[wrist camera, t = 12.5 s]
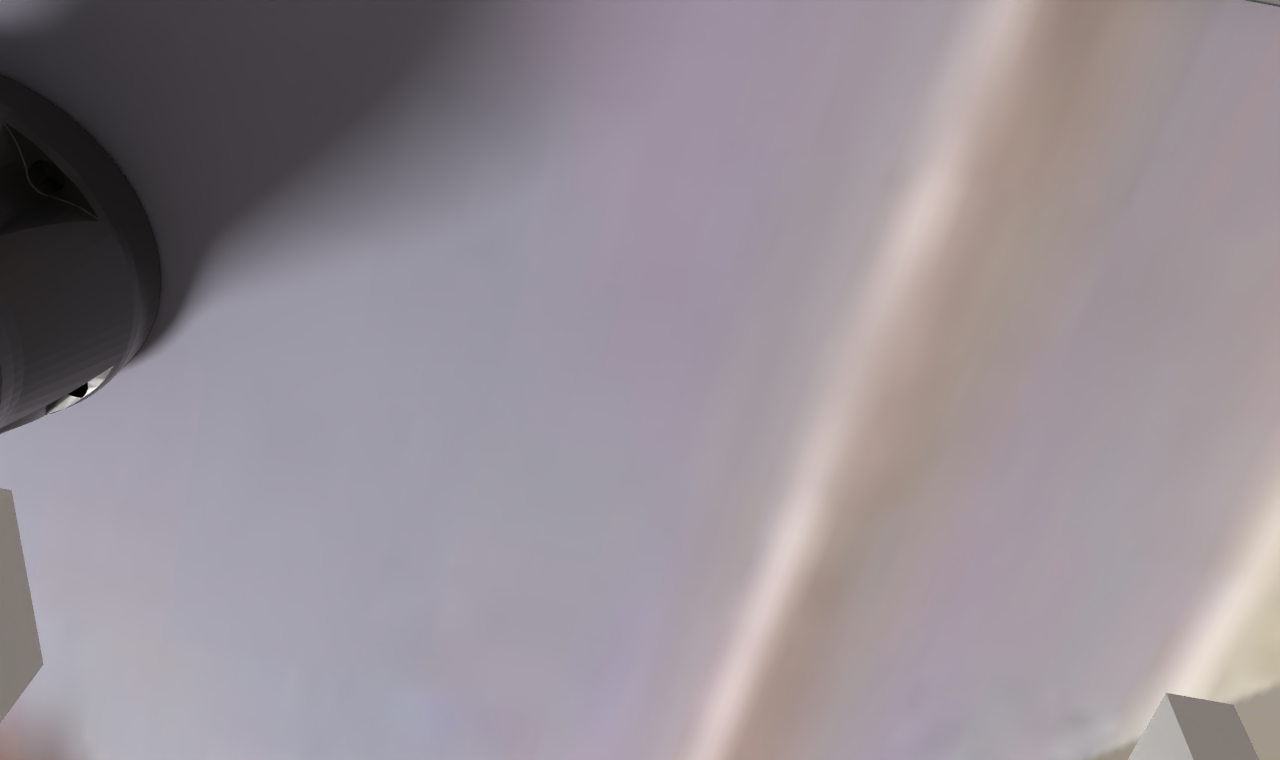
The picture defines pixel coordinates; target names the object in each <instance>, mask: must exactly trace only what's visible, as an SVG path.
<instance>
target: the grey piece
mask: <svg viewBox="0 0 1280 760" xmlns="http://www.w3.org/2000/svg"><path fill="white" fill-rule="evenodd" d="M1247 1H1252V2H1257V3H1262V4H1267V5H1273V6H1278V7H1280V0H1247Z"/></svg>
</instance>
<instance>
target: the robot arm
mask: <svg viewBox="0 0 1280 760" xmlns="http://www.w3.org/2000/svg"><path fill="white" fill-rule="evenodd" d="M160 285H161V283H160V266H159V259H158V253H157V248H156V244H155V241H154V237H153V234H152V231H151V228H150V225H149V222H148V220H147V217H146V215H145V213H144V210H143V208H142V206H141V204H140V202H139V200H138V198H137V196H136V195H135V193H134V191H133V189H132V188H131V186H130V184H129V183H128V181H127V180H126V178H125V177H124V175H123V174H122V172H121V171H120V169H119V168H118V167H117V165H116V164H115V163H114V161H113V160H112V159H111V158H110V157H109V155H108V154H107V153H106V152H105V151H104V149H103V148H102V147H101V146H100V145H99V144H98V143H97V142H96V141H95V140H94V139H93V138H92V137H91V136H90V135H89V134H88V133H87V132H86V131H85V130H84V129H83V128H82V127H81V126H80V125H79V124H78V123H76V122H75V121H74V120H73V119H72V118H71V117H69V116H68V115H67V114H66V113H64V112H63V111H62V110H60V109H59V108H58V107H56V106H55V105H54V104H52V103H51V102H49V101H48V100H46V99H45V98H43V97H42V96H40V95H39V94H37V93H35V92H33V91H32V90H30V89H28V88H27V87H25V86H23V85H21V84H19V83H17V82H15V81H13V80H11V79H9V78H6V77H4V76H2V75H0V434H2V433H4V432H7V431H9V430H12V429H14V428H17V427H20V426H22V425H25V424H27V423H30V422H32V421H34V420H37V419H39V418H41V417H43V416H44V415H47V414H51V413H55V412H57V411H60V410H62V409H65V408H68V407H70V406H72V405H74V404H77V403H79V402H81V401H83V400H84V399H86V398H88V397H89V396H91V395H92V394H94V393H95V392H97V391H98V390H99V389H101V388H102V387H103V386H104V385H106V384H107V383H108V382H109V381H110V380H111V379H112V378H113V377H114V376H115V375H116V374H117V373H118V372H119V371H120V370H121V369H122V368H123V367H124V366H125V365H126V364H127V363H128V362H129V361H130V360H131V358H132V357H133V356H134V355H135V354H136V353H137V352H138V350H139V349H140V348H141V346H142V345H143V344H144V342H145V340H146V338H147V337H148V335H149V333H150V331H151V328H152V326H153V323H154V320H155V318H156V314H157V310H158V305H159V298H160ZM42 665H43V660H42V654H41V649H40V643H39V638H38V632H37V627H36V621H35V616H34V611H33V605H32V600H31V594H30V589H29V583H28V578H27V572H26V567H25V561H24V556H23V551H22V545H21V540H20V534H19V529H18V523H17V518H16V512H15V507H14V501H13V496H12V491H11V490H6V489H0V723H1V721H2V720H3V718H4V717H5V716H6V714H7V713H8V712H9V710H10V709H11V708H12V706H13V705H14V704H15V702H16V701H17V699H18V698H19V697H20V695H21V694H22V693H23V691H24V690H25V689H26V687H27V686H28V685H29V683H30V682H31V680H32V679H33V678H34V676H35V675H36V674H37V672H38V671H39V670H40V668H41V667H42ZM1128 760H1259V758H1258V756H1257V754H1256V752H1255V750H1254V748H1253V746H1252V743H1251V742H1250V740H1249V737H1248V735H1247V733H1246V731H1245V729H1244V726H1243V724H1242V722H1241V720H1240V718H1239V716H1238V714H1237V712H1236V709H1235V707H1234V705H1232V704H1226V703H1220V702H1214V701H1209V700H1203V699H1197V698H1192V697H1186V696H1180V695H1175V694H1169V693H1166V694H1165V696H1164V698H1163V699H1162V701H1161V703H1160V705H1159V706H1158V708H1157V710H1156V712H1155V713H1154V715H1153V717H1152V719H1151V720H1150V722H1149V724H1148V726H1147V727H1146V729H1145V731H1144V733H1143V734H1142V736H1141V738H1140V740H1139V741H1138V743H1137V745H1136V747H1135V748H1134V750H1133V752H1132V754H1131V755H1130V757H1129V759H1128Z"/></svg>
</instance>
